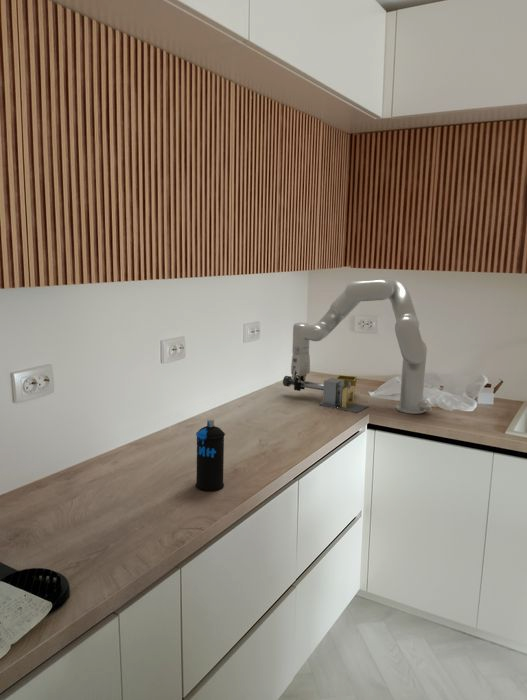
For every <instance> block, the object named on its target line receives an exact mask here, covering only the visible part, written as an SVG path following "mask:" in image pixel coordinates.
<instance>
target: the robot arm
mask: <svg viewBox="0 0 527 700" xmlns="http://www.w3.org/2000/svg"><path fill="white" fill-rule="evenodd" d="M387 299H389V300H390V303H391V306H392V311H393V313H394V318H395V324H394V332H395V336H396V340H397V344H398V347H399V350H400V353H401V356H402V364H401V365H402V368H401V380H400V381H401V382H400V394H399V395H400V397H399V404H397V405H395V409H396V411H398V412H400V413H404V414H411V415H413V414H414V415H416V414H417V415H418V414H424V413H425V412H426V411H427V410H429V411H432V409H433V406H432V405H431V404H428V403H427V404H426V403H425V400H424V399H423V398H424V386H425V377H426V376H425V375H426V374H425V373H426V363H427V362H426V361H427V353H428V351H427V350H428V348H427V345H426V343H425V341H423V340H422V336H421V331H420V322H419V319H418V317H417V313H416V310H415V307H414V304H413V301H412V297H411V294H410V292H409V290H408V289H407V287H406V286H405V285H404V284H403V283H402V282H401V281H399V280H396V279H393V278H381V279H375V280H359V279H358V280H354V281H351V282H349V283H347V285H346V287H345V289H344V290H343V291H342V292H341V294H340V295H338V296H337V298H336V299H335V300H334V301H332V303H331V305H330V306H329V309H328V310H327V312H326V313H325V314H324V315H323V316H322V317H321V318H320V320H319V321H318V322H317V323H315V324H309V323H307V322H296V323H294V324H293V326H292V327H293V329H292V357H291V363H290V364H291V365H290V374H291V378H292V379H294V385H293V390H294V391H298V392H300V391H301V390H305V388H306V387H301V382H300V380H302V381H306V378H307V375H308V374H310V371H311V359H310V357H311V356H310V341H311V342H320V341H323V339H325V338H326V337H328V336H329V335H330V334H331V332H332V331H333V330H334V329H335V328H336V327H337V326H338V325H339V324H340V323H341V322H342V321H343V320H345V319H346V317H347V316H348V315H350V313H351V312H353V310H354V309H355V308H356V307H357V306H358V305H359V304H360V303H361V302H370V301H371V302H373V301H385V300H387Z"/></svg>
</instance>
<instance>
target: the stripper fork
mask: <svg viewBox="0 0 527 700" xmlns="http://www.w3.org/2000/svg"><path fill="white" fill-rule="evenodd" d="M349 386H351V382H348V384H347V387H349ZM343 389H344V384H343V385H341V394H340V408H342V390H343Z"/></svg>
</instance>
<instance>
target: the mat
mask: <svg viewBox="0 0 527 700" xmlns="http://www.w3.org/2000/svg"><path fill="white" fill-rule="evenodd" d="M369 407H370V406H369V405H364V404H359V403H354V405H352V406H350V407H348V408H346V409H344V408H340V407H338V408H336V409H335V410H338V409H341V410H340V411H343V410H346V411H345V412H349V411H351V412H350V413H354V412H356V413H355V414H359V413H360V412H363V411H365V410H366V409H368V408H369ZM358 412H359V413H358Z"/></svg>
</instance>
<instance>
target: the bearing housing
mask: <svg viewBox="0 0 527 700" xmlns="http://www.w3.org/2000/svg"><path fill="white" fill-rule="evenodd" d="M336 378H337V377H336ZM336 378H335V377H330V378H328V379H325V380H323V384H324V389H323V390H322V391H323V393H322V401H321V402H319V404H318V405H319V407H325V408H329V407H332V408H331V409H335V408H337V407H340V394H341V393H338V387H341V385H343V384H344V380H343V379H336Z"/></svg>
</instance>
